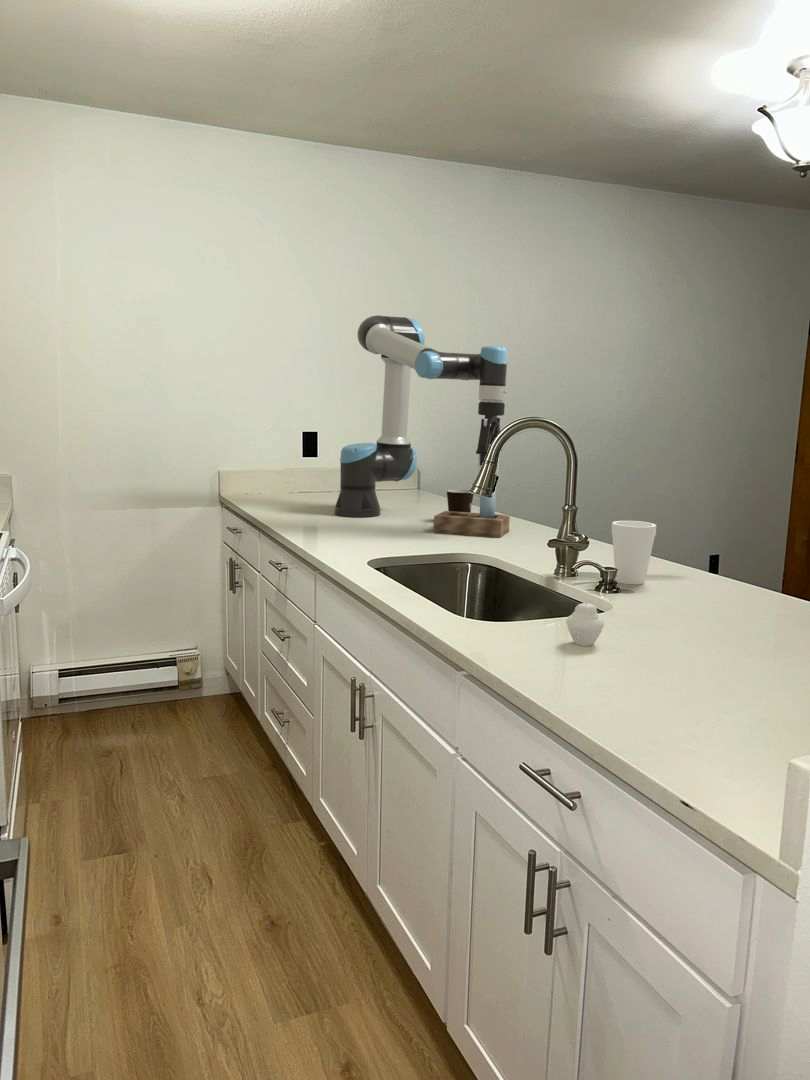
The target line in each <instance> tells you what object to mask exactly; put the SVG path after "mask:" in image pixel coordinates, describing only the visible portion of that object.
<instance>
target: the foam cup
mask: <svg viewBox="0 0 810 1080" xmlns="http://www.w3.org/2000/svg"><path fill="white" fill-rule="evenodd" d="M611 534H612V548H613V561H614V562H613V563H614V565H613V566H614V569H615V568H617V569H618V575H617V581H616V582H617V583H620V584H626V585H642V584H645V582H646V579H647V574H648V570H649V569H648V568H649V563H650V560H651V559H650V558H651V556H652V550H653V545H654V541H655V537H656V536H657V524H655V523H652V522H648V521H639V520H617V521H616V520H614V521H612V523H611Z"/></svg>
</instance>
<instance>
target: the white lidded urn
mask: <svg viewBox="0 0 810 1080" xmlns="http://www.w3.org/2000/svg"><path fill="white" fill-rule="evenodd" d="M565 624H566V626H567V629H568V632H569V635H570V637H571V639H572V640H573V643H574V644H575V645H578V646H583V647H584V646H585V647H589V646H590V647H592V646H593V645H595V643H596V641H597V640H598V638H599V636H600V635H601V633H602V632H603V629H604V626H605V622H604V619H602V617H601V616H600V615H599V613H598V610H597V607H596V605H594V604H592V603H588V602H583V603H579V604H577V605H576V606H575V608H574V611H573V612H572V613H571V614H570V615H568V617H567V618H566V620H565Z"/></svg>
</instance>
